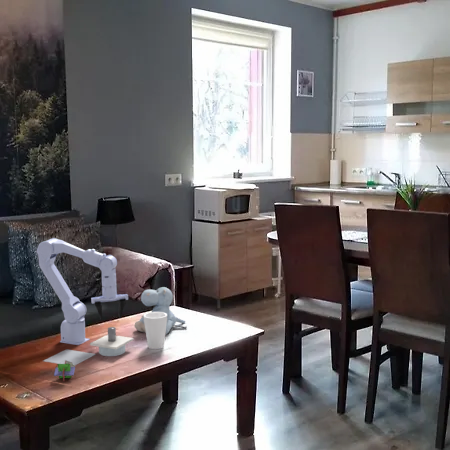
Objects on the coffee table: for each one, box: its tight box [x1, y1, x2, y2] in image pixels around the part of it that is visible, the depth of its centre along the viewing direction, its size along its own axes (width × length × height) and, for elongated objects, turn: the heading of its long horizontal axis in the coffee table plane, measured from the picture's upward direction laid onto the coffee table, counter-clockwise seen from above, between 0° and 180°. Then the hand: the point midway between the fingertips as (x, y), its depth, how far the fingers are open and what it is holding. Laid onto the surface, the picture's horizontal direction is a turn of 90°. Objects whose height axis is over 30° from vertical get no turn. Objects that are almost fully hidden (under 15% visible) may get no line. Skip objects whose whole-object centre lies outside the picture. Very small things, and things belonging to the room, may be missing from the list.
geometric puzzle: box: [53, 360, 76, 383], centre depth 208 cm, size 7×7×8 cm
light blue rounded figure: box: [134, 286, 187, 336], centre depth 264 cm, size 18×23×18 cm
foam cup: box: [142, 311, 167, 350], centre depth 242 cm, size 10×9×13 cm
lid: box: [89, 326, 135, 349], centre depth 235 cm, size 12×12×6 cm
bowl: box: [98, 345, 126, 357], centre depth 236 cm, size 10×10×4 cm
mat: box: [43, 349, 97, 367], centre depth 230 cm, size 14×14×1 cm
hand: (110, 318), depth 246 cm, fingers open, 7 cm apart
